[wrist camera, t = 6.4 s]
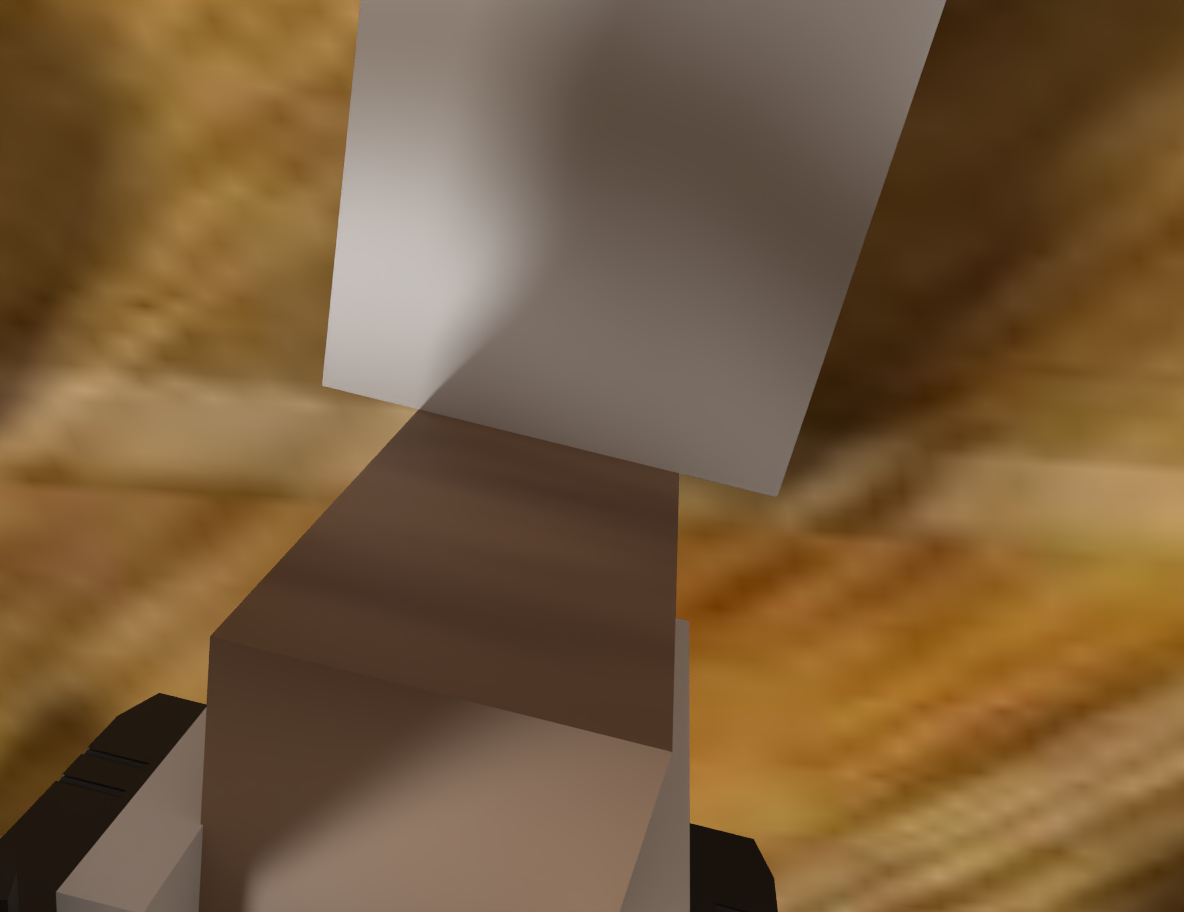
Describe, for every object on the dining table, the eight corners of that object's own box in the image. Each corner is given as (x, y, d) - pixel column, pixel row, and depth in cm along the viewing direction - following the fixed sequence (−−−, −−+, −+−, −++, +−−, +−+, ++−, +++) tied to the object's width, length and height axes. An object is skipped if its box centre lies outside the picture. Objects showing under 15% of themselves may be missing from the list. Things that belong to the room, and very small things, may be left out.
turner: (626, 906, 17) (590, 1375, 11) (296, 822, 17) (66, 1237, 11) (962, -107, 10) (1410, -470, 4) (413, -235, 11) (-20, -793, 4)
